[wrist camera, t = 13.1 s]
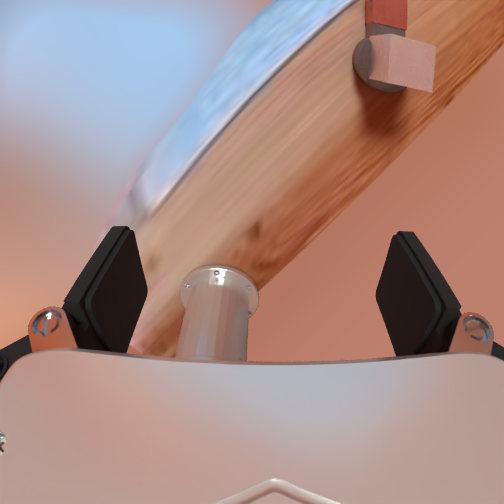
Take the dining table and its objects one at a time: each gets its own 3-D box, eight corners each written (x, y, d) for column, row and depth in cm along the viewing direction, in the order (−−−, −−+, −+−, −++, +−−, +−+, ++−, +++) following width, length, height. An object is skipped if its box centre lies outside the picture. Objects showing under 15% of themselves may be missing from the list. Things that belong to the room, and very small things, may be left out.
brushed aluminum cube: (406, 85, 28) (431, 92, 24) (366, 77, 29) (387, 82, 24) (409, 45, 26) (435, 46, 21) (369, 36, 26) (390, 33, 21)
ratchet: (354, -20, 24) (371, -33, 18) (408, -7, 24) (432, -14, 18) (350, 85, 32) (367, 91, 26) (403, 94, 32) (427, 102, 26)
